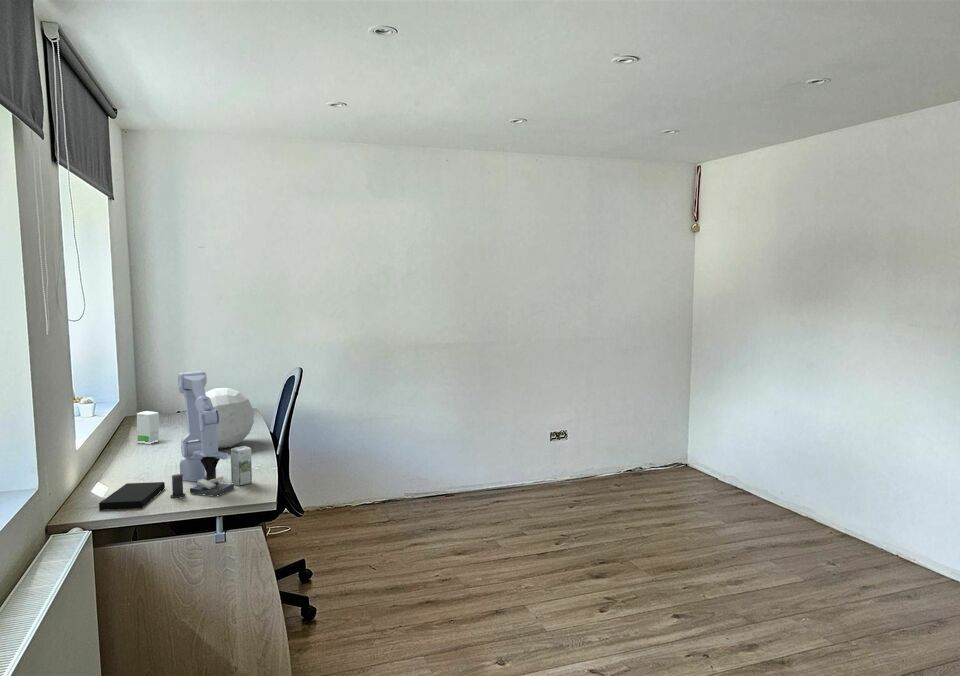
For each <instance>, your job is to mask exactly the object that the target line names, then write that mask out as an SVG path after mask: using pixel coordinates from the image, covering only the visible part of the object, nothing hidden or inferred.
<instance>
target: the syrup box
mask: <svg viewBox="0 0 960 676" xmlns="http://www.w3.org/2000/svg"><path fill="white" fill-rule="evenodd" d="M230 460H231V462H230V466H231V467H230V469H231V475H230V476H231V484H232V483H233V484H234V486H237V487H241V486H245V485H248V483H249V484H252V481H253V480H252V478H253V477H252V476H253V475H252V473H253V472H252V471H253V470H252V448H251V447H249V446H246V445H242V446H237V447H233V448H231V449H230ZM244 484H245V485H244ZM240 485H241V486H240Z"/></svg>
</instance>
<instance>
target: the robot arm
mask: <svg viewBox="0 0 960 676" xmlns="http://www.w3.org/2000/svg"><path fill="white" fill-rule="evenodd" d="M207 377H208V376H207V373H206V372H205V371H204V370H201V371H199V370H198V371H188V372H180V373H179V374H178V376H177V383H178V384H177V385H178V391H179V392H178V393H180V394H182V395H183V396H184V404H185V414H186V424H187V425H186V426H187V434H186V435H184V437H182V438H181V441H180V442H181V444H180V445H181V446H180V452H181V456H182V458H181V460H180V462H179V474H182V475H183V481H187V482H196V481H199V480H201V479H204V478H205V479H206V473H207V476H208V477H212V476H214V473H215V469H216V470H217V468H216V467H217V465H218V464H219V461H220V459H221V460H227V459H228V453H227V452H222V451H219V448H218V436H217V424H218V423H219V413H218V410H217V409H216V408H214V407H213V405H212V402H211V400H210V398H209V397H207V396H206V394H205V393H206V391H205V387H206V384H207V381H208V380H207V379H208V378H207ZM200 430H201V432H200ZM198 439H200V440H201V441H199V440H198Z"/></svg>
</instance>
